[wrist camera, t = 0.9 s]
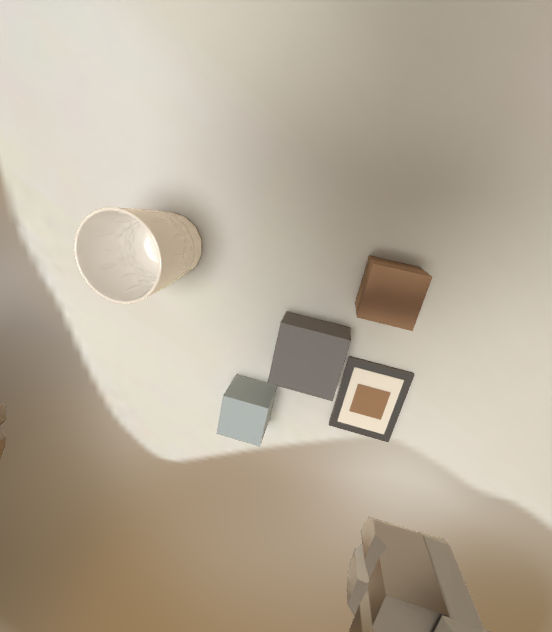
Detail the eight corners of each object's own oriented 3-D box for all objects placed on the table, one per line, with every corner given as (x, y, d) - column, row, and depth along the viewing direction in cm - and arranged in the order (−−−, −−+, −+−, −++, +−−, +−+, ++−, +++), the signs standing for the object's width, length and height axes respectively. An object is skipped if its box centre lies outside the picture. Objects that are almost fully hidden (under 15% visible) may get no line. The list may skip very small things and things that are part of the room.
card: (349, 356, 37) (349, 358, 37) (413, 373, 37) (414, 375, 36) (328, 423, 40) (328, 426, 40) (387, 439, 40) (388, 443, 39)
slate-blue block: (236, 373, 41) (223, 395, 36) (277, 385, 40) (268, 408, 36) (230, 408, 43) (216, 433, 38) (269, 419, 42) (259, 446, 37)
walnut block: (368, 255, 34) (373, 263, 29) (419, 267, 33) (432, 277, 29) (355, 302, 36) (356, 317, 31) (403, 314, 35) (412, 330, 30)
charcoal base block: (287, 310, 38) (280, 322, 34) (350, 326, 37) (350, 340, 33) (274, 366, 40) (267, 383, 36) (333, 382, 39) (332, 401, 35)
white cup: (207, 283, 38) (163, 308, 29) (142, 276, 39) (79, 298, 30) (207, 209, 35) (158, 210, 26) (138, 204, 37) (67, 204, 27)
